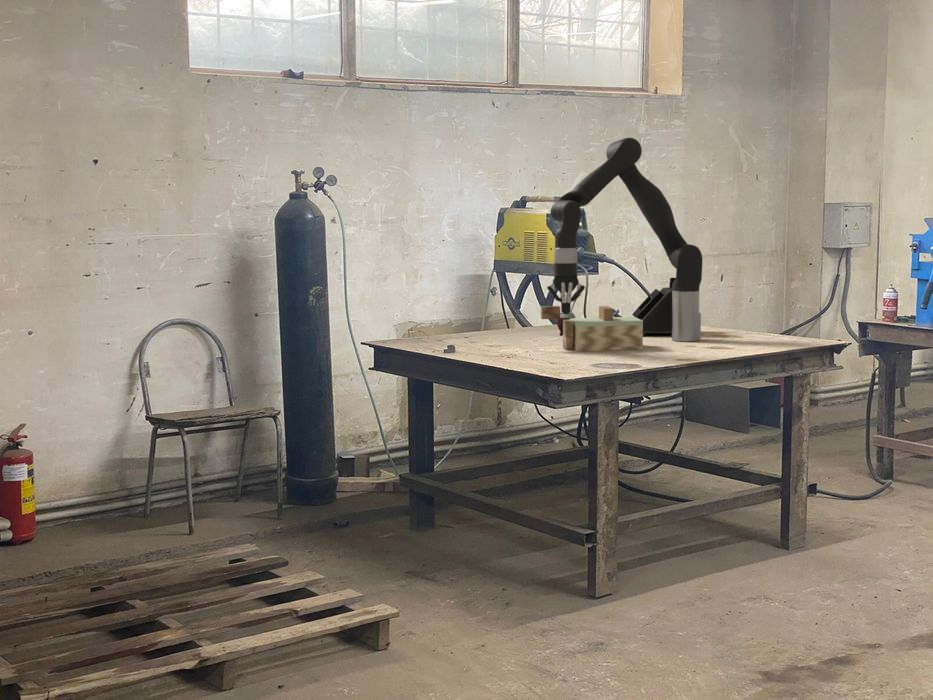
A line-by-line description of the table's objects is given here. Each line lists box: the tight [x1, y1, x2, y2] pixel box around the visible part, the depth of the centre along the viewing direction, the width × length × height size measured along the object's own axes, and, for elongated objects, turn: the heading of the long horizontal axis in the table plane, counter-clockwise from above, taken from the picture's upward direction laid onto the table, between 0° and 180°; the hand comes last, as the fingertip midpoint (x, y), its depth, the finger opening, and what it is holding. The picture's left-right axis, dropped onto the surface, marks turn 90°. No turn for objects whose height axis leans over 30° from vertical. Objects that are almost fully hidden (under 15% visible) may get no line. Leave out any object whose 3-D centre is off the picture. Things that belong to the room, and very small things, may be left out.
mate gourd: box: [556, 293, 582, 337], centre depth 413 cm, size 8×8×15 cm
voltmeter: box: [631, 277, 676, 337], centre depth 411 cm, size 16×16×20 cm
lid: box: [570, 305, 643, 327], centre depth 376 cm, size 22×12×6 cm, turn 95°
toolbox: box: [562, 320, 644, 352], centre depth 377 cm, size 25×12×10 cm, turn 95°
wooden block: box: [540, 305, 561, 320], centre depth 374 cm, size 6×3×4 cm, turn 95°
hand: (565, 314), depth 374 cm, fingers closed
